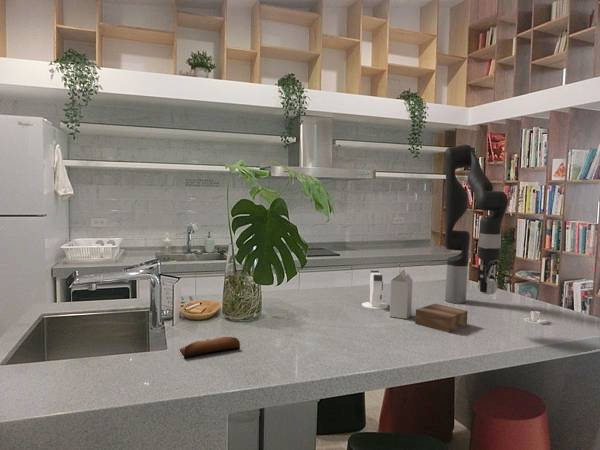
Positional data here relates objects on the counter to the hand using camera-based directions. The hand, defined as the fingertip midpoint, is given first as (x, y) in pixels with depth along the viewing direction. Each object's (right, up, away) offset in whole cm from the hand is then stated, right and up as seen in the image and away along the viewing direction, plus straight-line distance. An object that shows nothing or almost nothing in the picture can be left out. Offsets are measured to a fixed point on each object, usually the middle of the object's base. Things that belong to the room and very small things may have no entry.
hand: (486, 290), depth 165 cm
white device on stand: (-36, -12, +34) cm, 51 cm away
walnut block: (-14, -15, +8) cm, 22 cm away
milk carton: (-28, -13, +19) cm, 36 cm away
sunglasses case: (-98, -16, -24) cm, 102 cm away
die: (0, -1, 0) cm, 1 cm away
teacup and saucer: (+24, -15, +14) cm, 32 cm away
